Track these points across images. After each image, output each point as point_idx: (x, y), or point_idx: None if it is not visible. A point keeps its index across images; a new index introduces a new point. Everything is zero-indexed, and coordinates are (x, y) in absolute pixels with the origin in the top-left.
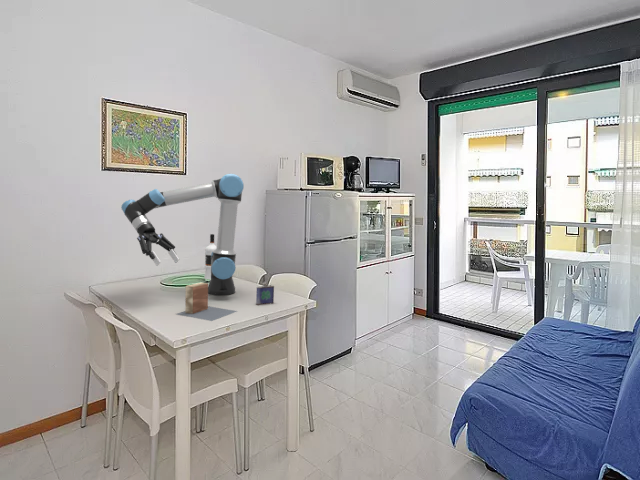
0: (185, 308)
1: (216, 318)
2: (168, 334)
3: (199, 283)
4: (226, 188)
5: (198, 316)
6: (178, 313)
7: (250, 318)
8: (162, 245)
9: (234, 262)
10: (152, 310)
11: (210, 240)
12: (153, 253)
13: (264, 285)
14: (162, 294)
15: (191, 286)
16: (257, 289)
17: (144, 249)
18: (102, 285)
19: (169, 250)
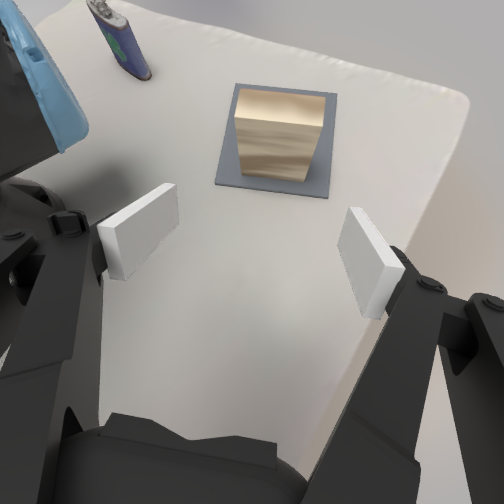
0: (305, 175)
1: (315, 94)
2: (456, 125)
3: (255, 111)
4: None
5: (319, 136)
6: (319, 193)
7: (272, 44)
8: (95, 341)
9: None
10: (314, 288)
11: None
12: (392, 254)
13: (106, 7)
14: (103, 413)
15: (318, 105)
16: (130, 30)
17: (459, 375)
18: None
19: (98, 271)
